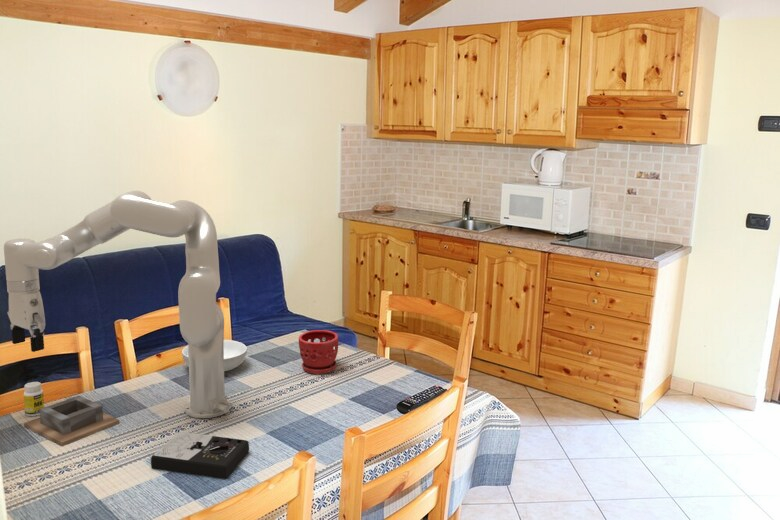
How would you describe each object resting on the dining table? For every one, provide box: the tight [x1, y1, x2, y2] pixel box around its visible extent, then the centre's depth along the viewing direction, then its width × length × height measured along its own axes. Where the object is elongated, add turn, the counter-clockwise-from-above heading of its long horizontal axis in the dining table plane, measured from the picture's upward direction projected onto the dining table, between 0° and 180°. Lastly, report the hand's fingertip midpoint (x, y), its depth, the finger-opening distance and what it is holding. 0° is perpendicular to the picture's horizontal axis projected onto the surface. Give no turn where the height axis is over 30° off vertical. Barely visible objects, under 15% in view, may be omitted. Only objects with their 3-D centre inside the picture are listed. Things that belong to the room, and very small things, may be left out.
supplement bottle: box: [23, 381, 45, 417], centre depth 176 cm, size 5×5×8 cm
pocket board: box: [23, 395, 121, 447], centre depth 170 cm, size 18×16×5 cm
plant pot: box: [298, 329, 339, 375], centre depth 213 cm, size 13×13×12 cm
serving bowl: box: [181, 339, 248, 373], centre depth 213 cm, size 21×21×7 cm
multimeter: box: [150, 431, 250, 480], centre depth 154 cm, size 13×19×5 cm
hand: (28, 346), depth 173 cm, fingers open, 9 cm apart
